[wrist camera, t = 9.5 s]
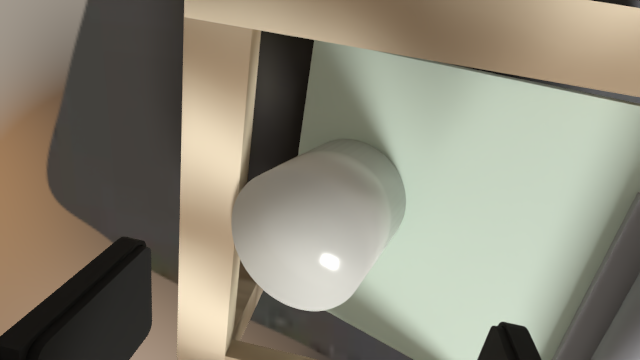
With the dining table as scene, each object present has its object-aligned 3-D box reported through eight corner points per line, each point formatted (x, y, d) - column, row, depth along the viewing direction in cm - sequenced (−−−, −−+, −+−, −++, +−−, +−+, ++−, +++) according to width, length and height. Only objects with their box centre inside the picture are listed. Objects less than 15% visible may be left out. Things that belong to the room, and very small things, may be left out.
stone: (305, 125, 18) (237, 151, 14) (419, 158, 16) (381, 200, 12) (291, 226, 20) (226, 276, 16) (390, 265, 18) (349, 334, 14)
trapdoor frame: (273, -28, 21) (185, -64, 12) (634, 31, 19) (858, 43, 10) (245, 261, 28) (176, 379, 19) (509, 319, 26) (575, 480, 17)
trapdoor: (326, 38, 18) (283, 36, 15) (774, 131, 11) (832, 155, 9) (290, 276, 23) (253, 305, 20) (586, 435, 16) (587, 507, 14)
